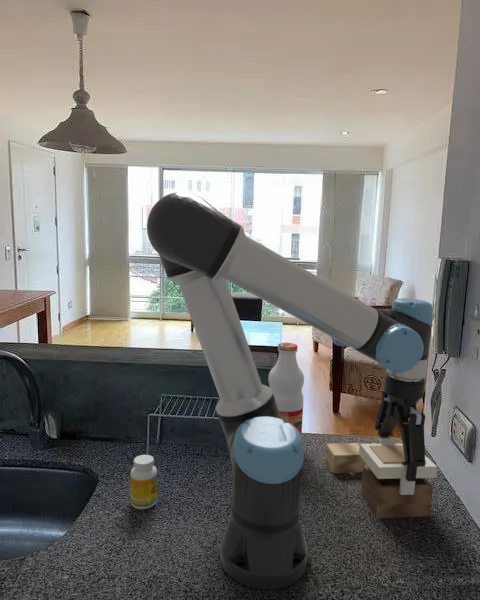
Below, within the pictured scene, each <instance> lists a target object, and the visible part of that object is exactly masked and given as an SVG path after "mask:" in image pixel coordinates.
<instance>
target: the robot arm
mask: <svg viewBox="0 0 480 600" xmlns="http://www.w3.org/2000/svg"><path fill="white" fill-rule="evenodd" d="M146 231H147V232H146V234H147V237H148V238H147V239H148V241H149V242H150V245H151V246H152V248H153V249H154V251H155V252H156V253H157V254H158V256H159V258H160V261H161V264H162V267H163V269H164V272H165V274H166V278H167V280H170V281H172V282H174V283H176V284H177V285H179V289H180V292H181V294H182V297H183V300H184V303H185V305H186V308H187V311H188V314H189V317H190V319H191V322H192V325H193V327H194V330H195V333H196V335H197V338H198V341H199V344H200V348H201V350H202V353H203V356H204V359H205V360H206V363H207V366H208V369H209V372H210V375H211V378H212V380H213V382H214V386H215V388H216V391H217V394H218V396H219V401H218V402H217V404H216V406H215V412H216V414H217V417H218V419H219V423H220V426H221V427H222V430H223V434H224V436H225V439H226V442H227V445H228V446H227V447H228V452H229V458H230V463H231V468H232V490H231V491H232V493H231V497H232V500H231V515H230V516H229V520H228V523H227V525H226V527H225V530H224V532H223V534H222V537H221V541H220V548H219V550H220V551H219V553H220V554H219V555H220V556H219V558H220V563H221V566H222V568H223V570H224V571H225V573H227V575H228V576H230V577H231V578H232V579H233V580H234V581H236V582H238V583H239V584H241V585H244V586H246V587H248V588H253V589H257V590H277V589H278V590H279V589H282V588H286V587H289V586H291V585H293V584H294V583H296V582H297V581H299V579H301V577H303V575H304V574H305V572H306V570H307V566H308V559H309V558H308V556H309V555H308V553H309V551H308V543H307V541H306V537H305V534H304V530H303V527H302V523H301V520H300V514H301V513H300V512H301V500H302V499H301V498H302V497H301V495H302V480H303V465H304V461H305V448H304V439H303V436H301V434H300V432H299V431H298V430H297V429H296V428H295V427H294V426H293V425H292V424H290V423H285V421H284V420H282V418H281V416H280V413H279V410H278V407H277V404H276V401H275V398H274V395H273V392H272V390H271V388H270V386H268V385H266V384H262V381H261V378H260V376H259V372H258V369H257V366H256V363H255V361H254V357H253V355H252V352H251V349H250V346H249V342H248V339H247V336H246V334H245V332H244V329H243V326H242V322H241V320H240V316H239V313H238V310H237V307H236V304H235V302H234V299H233V296H232V293H231V291H230V287H229V284H228V282H229V283H232V284H234V285H236V286H237V287H239V288H241V289H242V290H245V291H246V292H248V293H249V294H252V295H254V296H256V297H258V298H260V299H261V300H263V301H265V302H267V303H269V304H270V305H273V306H274V307H276V308H278V309H280V310H282V311H283V312H286V313H287V314H289V315H290V316H292V317H294V318H296V319H298V320H299V321H302V322H303V323H305V324H307V325H309V326H310V327H313V328H315V329H316V330H317V331H318V330H319V331H320V332H322V333H324V334H326V335H328V336H330V338H331V340H332V342H333V344H334V345H336V346H337V347H345V348H352V349H353V350H355V352H358V353H360V354H362V355H364V356H365V357H368V359H369V358H370V359H372V360H373V361H375V362H376V363H378V364H379V365H380V366H381V367H383V368H385V372H386V375H385V379H384V390H382V395H381V402H380V406H379V409H378V413H377V417H376V421H375V426H374V428H375V430H376V431H377V432H378V436H379V437H378V438H379V439H378V444H393V443H394V442H393V440H394V439H393V438H392V437H394V436H395V435H394V430H395V428H396V426H397V427H398V429H399V430H400V432H401V433H400V434H401V441H402V443H403V449H404V457H405V462H402V470H401V479H400V488H399V493H400V495H414V488H415V480H416V473H417V467H424V466H425V456H426V450H425V449H426V447H425V422H426V421H425V420H426V414H425V413H419V412H418V408H417V402H418V401H419V400H421V399H423V397H424V395H425V385H426V381H425V379H424V378H426V375H427V366H428V364H429V362H428V356H429V350H430V343H431V342H430V341H431V334H432V327H433V305H432V303H430V302H429V301H426V300H423V299H417V298H416V299H415V298H396V299H394V300H393V302H392V305H391V308H387V309H386V308H382V309H381V308H373V307H372V306H370V305H369V304H367V303H366V302H363V301H361V300H360V299H358V298H356V297H355V296H353V295H351V294H349V293H347V292H346V291H344V290H342V289H341V288H339V287H337V286H335V285H333V284H332V283H330V282H328V281H327V280H324V279H323V278H321V277H319V276H317V275H316V274H314V273H313V272H311V271H309V270H308V269H305V268H303V267H302V266H300V265H298V264H296V263H295V262H293V261H291V260H289V259H287V258H286V257H284V256H282V255H281V254H279V253H277V252H275V251H274V250H272V249H270V248H268V247H267V246H265V245H263V244H261V243H259V242H258V241H256V240H254V239H252V238H251V237H250V236H247V235H246V234H245V233H246V232H245V230H244V227H243V225H241V224H239V223H238V222H236V221H235V220H233V219H231V218H230V217H228V216H226V215H225V214H223V213H222V212H221V211H219V210H218V209H217V208H216V207H214V206H213V205H211V204H210V203H209V202H208V201H207V200H206V199H204V198H203V197H201V196H199V195H197V194H195V193H192V192H188V191H176V192H172V193H169V194H167V195H165V196H163V197H161V198H160V199H159V200H157V202H156V203H155V204H153V206H152V208H151V209H150V211H149V214H148V217H147V223H146Z"/></svg>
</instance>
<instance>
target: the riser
mask: <svg viewBox="0 0 480 600" xmlns="http://www.w3.org/2000/svg"><path fill="white" fill-rule="evenodd" d="M359 448H360V443H359V442H346V443H345V442H343V443H339V442H337V443H336V442H335V443H326V446H325V458H324V459H325V460H324V461H325V463H326V464H327V466H328V468H329V469H330V471H331V472H332V474H350V473H362V472H363V465H367V464H366V463H365V461H364V460H363V459H362V458H361V456H360V455H359Z"/></svg>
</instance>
